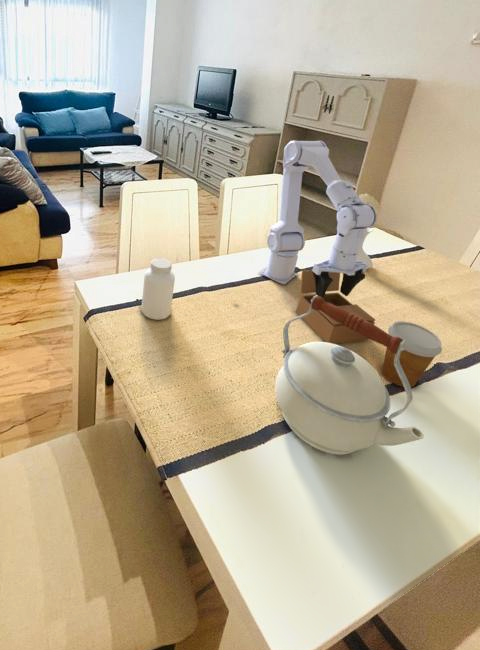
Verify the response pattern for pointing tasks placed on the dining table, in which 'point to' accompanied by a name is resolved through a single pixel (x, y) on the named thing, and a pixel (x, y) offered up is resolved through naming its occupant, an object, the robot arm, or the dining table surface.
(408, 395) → the kettle
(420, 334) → the disposable coffee cup
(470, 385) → the dining table surface
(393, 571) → the dining table surface
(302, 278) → the flap
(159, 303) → the pill bottle
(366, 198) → the flower in vase
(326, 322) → the carton
